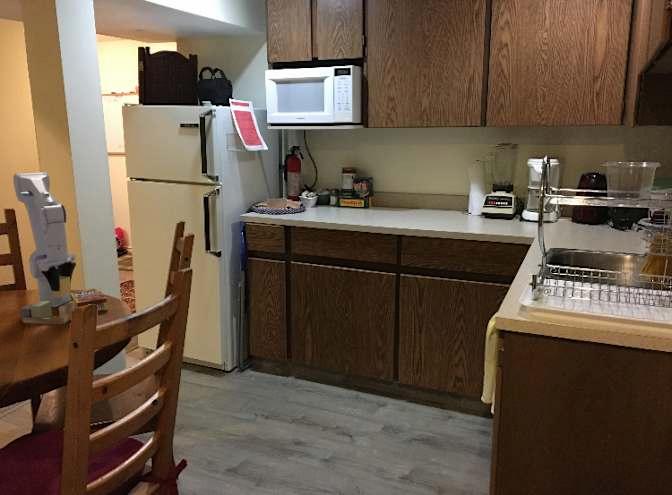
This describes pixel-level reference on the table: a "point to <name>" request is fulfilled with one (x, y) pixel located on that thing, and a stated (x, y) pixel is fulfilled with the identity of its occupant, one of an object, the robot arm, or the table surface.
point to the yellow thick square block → (63, 287)
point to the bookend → (26, 311)
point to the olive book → (41, 309)
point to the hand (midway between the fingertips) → (61, 288)
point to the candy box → (89, 298)
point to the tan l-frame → (64, 317)
